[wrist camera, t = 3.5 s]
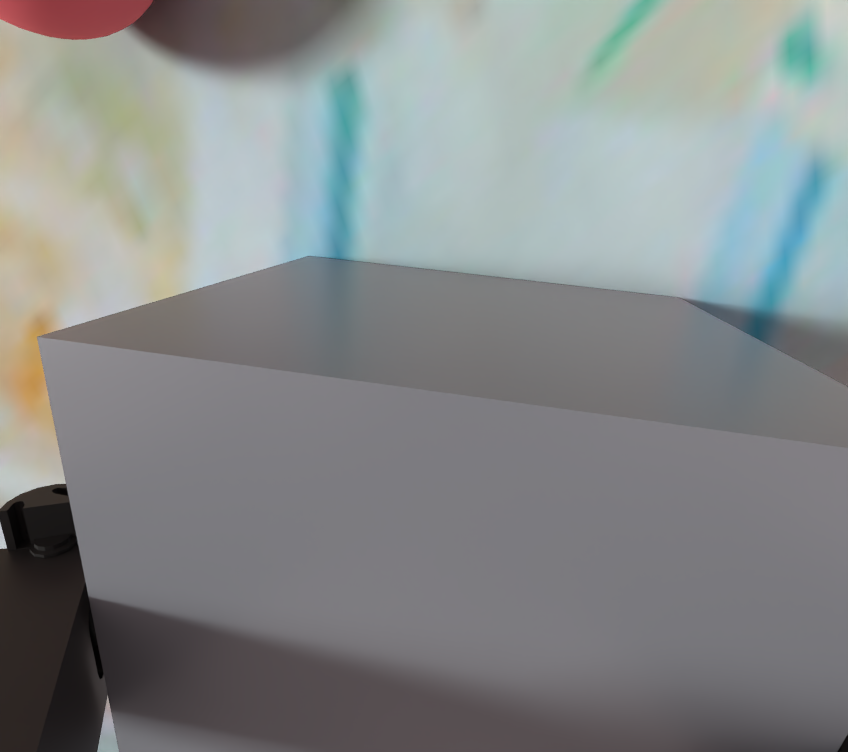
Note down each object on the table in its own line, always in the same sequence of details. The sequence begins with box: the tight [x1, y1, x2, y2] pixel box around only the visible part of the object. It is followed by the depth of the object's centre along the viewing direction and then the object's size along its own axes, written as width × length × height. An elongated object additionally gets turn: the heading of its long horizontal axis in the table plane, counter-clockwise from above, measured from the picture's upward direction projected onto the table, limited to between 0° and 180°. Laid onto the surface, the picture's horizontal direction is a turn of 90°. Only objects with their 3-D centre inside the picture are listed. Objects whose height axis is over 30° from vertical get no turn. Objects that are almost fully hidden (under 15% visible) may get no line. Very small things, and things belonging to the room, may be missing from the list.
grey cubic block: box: [37, 256, 848, 752], centre depth 11 cm, size 10×10×9 cm
